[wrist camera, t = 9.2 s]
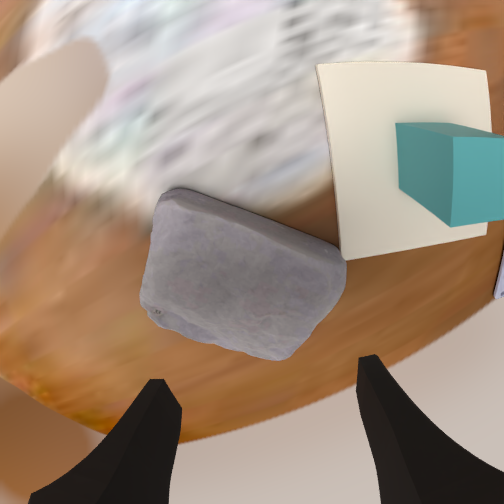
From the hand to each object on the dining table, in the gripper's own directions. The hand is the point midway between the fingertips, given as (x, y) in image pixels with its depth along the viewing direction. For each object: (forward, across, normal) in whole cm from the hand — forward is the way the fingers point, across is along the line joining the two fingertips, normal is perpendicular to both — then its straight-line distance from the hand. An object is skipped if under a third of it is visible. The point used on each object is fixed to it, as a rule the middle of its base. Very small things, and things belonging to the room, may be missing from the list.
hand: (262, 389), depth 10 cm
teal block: (+10, -11, -5) cm, 16 cm away
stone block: (+11, +2, +1) cm, 11 cm away
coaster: (+10, -11, -5) cm, 16 cm away
